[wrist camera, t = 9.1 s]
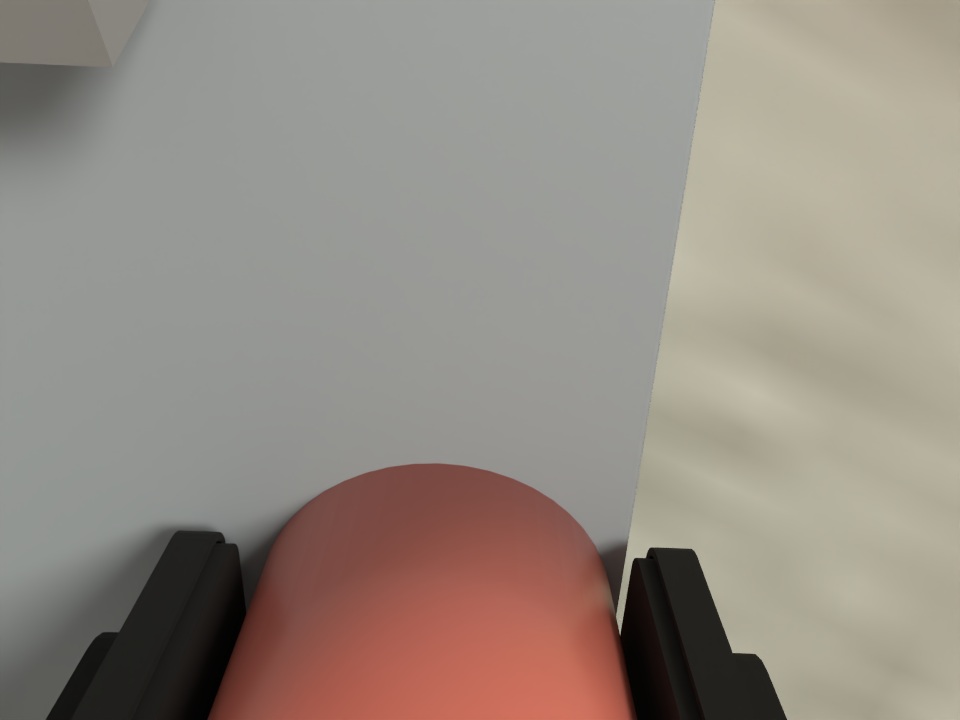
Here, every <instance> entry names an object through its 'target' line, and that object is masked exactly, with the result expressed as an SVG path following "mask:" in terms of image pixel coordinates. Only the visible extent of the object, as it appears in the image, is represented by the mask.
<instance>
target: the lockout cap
mask: <svg viewBox="0 0 960 720" xmlns="http://www.w3.org/2000/svg"><path fill="white" fill-rule="evenodd" d="M207 720H637V716H636V711H635V706H634V702H633V697H632V692H631V687H630V682H629V677H628V673H627V668H626V663H625V658H624V653H623V648H622V644H621V639H620V634H619V629H618V624H617V619H616V614H615V610H614V605H613V600H612V595H611V590H610V585H609V581H608V577H607V573H606V570H605V566H604V563H603V561H602V558H601V556H600V554H599V552H598V550H597V548H596V546H595V544H594V543H593V541H592V540H591V538H590V537H589V535H588V534H587V533H586V531H585V530H584V528H583V527H582V526H581V525H580V524H579V523H578V522H577V521H576V520H575V519H574V518H573V517H572V515H571V514H570V513H568V512H567V511H566V510H565V509H563V508H562V507H561V506H560V505H558V504H557V503H556V502H555V501H554V500H552V499H550V498H549V497H547V496H546V495H544V494H542V493H541V492H539V491H538V490H536V489H534V488H532V487H530V486H528V485H526V484H524V483H521V482H519V481H517V480H515V479H513V478H510V477H507V476H504V475H501V474H498V473H495V472H491V471H488V470H483V469H478V468H473V467H469V466H463V465H452V464H441V463H430V464H409V465H401V466H393V467H387V468H383V469H379V470H375V471H371V472H367V473H364V474H361V475H359V476H356V477H353V478H351V479H348V480H345V481H343V482H341V483H339V484H337V485H335V486H333V487H332V488H330V489H328V490H326V491H324V492H322V493H321V494H320V495H318V496H317V497H315V498H314V499H313V500H311V501H310V502H308V503H307V504H306V505H305V506H304V507H302V508H301V509H300V510H299V511H298V512H297V513H296V514H295V515H294V516H293V517H292V518H291V519H290V520H289V522H288V523H287V524H286V525H285V527H284V528H283V529H282V531H281V532H280V533H279V535H278V537H277V538H276V540H275V542H274V544H273V546H272V548H271V549H270V552H269V554H268V557H267V560H266V563H265V565H264V568H263V571H262V573H261V576H260V579H259V581H258V584H257V587H256V590H255V592H254V595H253V598H252V600H251V603H250V606H249V608H248V611H247V614H246V616H245V619H244V622H243V625H242V627H241V630H240V633H239V635H238V638H237V641H236V643H235V646H234V649H233V652H232V654H231V657H230V660H229V662H228V665H227V668H226V670H225V673H224V676H223V678H222V681H221V684H220V687H219V689H218V692H217V695H216V697H215V700H214V703H213V705H212V708H211V711H210V714H209V716H208V719H207Z"/></svg>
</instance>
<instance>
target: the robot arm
mask: <svg viewBox="0 0 960 720" xmlns="http://www.w3.org/2000/svg"><path fill="white" fill-rule="evenodd" d="M245 616H246V606H245V598H244V589H243V581H242V573H241V565H240V556H239V550H238V546H237V545H236V544H231V543H226V542H225V537H224V535H223V534H222V533H221V532H209V531H181V530H179V531H177V532H175V533H174V535H173V536H172V538H171V539H170V541H169V543H168V545H167V546H166V548H165V550H164V552H163V554H162V556H161V557H160V559H159V561H158V563H157V565H156V566H155V568H154V570H153V572H152V574H151V575H150V577H149V579H148V581H147V583H146V584H145V586H144V588H143V590H142V592H141V593H140V595H139V597H138V599H137V601H136V602H135V604H134V606H133V608H132V610H131V612H130V613H129V615H128V617H127V619H126V621H125V622H124V624H123V626H122V628H121V630H120V631H119V632H102V633H101V634H100V635H98V636H97V637H95V639H94V640H93V641H92V643H91V644H90V645H89V647H88V648H87V650H86V652H85V653H84V655H83V657H82V658H81V660H80V662H79V663H78V665H77V667H76V669H75V670H74V672H73V674H72V675H71V677H70V679H69V680H68V682H67V684H66V686H65V687H64V689H63V691H62V692H61V694H60V696H59V697H58V699H57V701H56V703H55V704H54V706H53V708H52V709H51V711H50V713H49V715H48V716H47V718H46V720H207V719H208V716H209V714H210V711H211V708H212V705H213V703H214V700H215V697H216V695H217V692H218V689H219V687H220V684H221V681H222V678H223V676H224V673H225V670H226V668H227V665H228V662H229V660H230V657H231V654H232V652H233V649H234V646H235V643H236V641H237V638H238V635H239V633H240V630H241V627H242V625H243V622H244V619H245ZM620 639H621V644H622V648H623V653H624V658H625V663H626V668H627V673H628V677H629V682H630V687H631V692H632V697H633V702H634V706H635V711H636V716H637V720H787V719H786V716H785V714H784V711H783V709H782V706H781V704H780V701H779V699H778V697H777V694H776V692H775V689H774V687H773V684H772V682H771V679H770V677H769V674H768V672H767V670H766V668H765V666H764V664H763V662H762V660H761V659H760V658H759V657H758V656H757V655H756V654H743V653H732V650H731V648H730V645H729V642H728V639H727V637H726V634H725V631H724V628H723V626H722V623H721V620H720V618H719V615H718V612H717V609H716V607H715V604H714V601H713V599H712V596H711V593H710V590H709V588H708V585H707V582H706V580H705V577H704V574H703V571H702V569H701V566H700V563H699V560H698V558H697V555H696V553H695V551H693V550H692V549H679V548H649V550H648V552H647V556H646V558H635V559H634V561H633V564H632V569H631V575H630V581H629V587H628V593H627V599H626V605H625V611H624V617H623V623H622V629H621V635H620Z"/></svg>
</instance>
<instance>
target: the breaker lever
mask: <svg viewBox="0 0 960 720" xmlns="http://www.w3.org/2000/svg"><path fill="white" fill-rule="evenodd" d="M149 2H150V0H0V62H3V63H25V64H47V65H69V66H91V67H114V65H115V63H116V61H117V60H118V58H119V56H120V54H121V52H122V51H123V49H124V47H125V45H126V43H127V42H128V40H129V38H130V36H131V34H132V33H133V31H134V29H135V27H136V25H137V23H138V22H139V20H140V18H141V16H142V14H143V13H144V11H145V9H146V7H147V5H148V4H149Z"/></svg>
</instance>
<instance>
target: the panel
mask: <svg viewBox="0 0 960 720" xmlns="http://www.w3.org/2000/svg"><path fill="white" fill-rule="evenodd" d="M714 4H715V0H150V2H149V4H148V5H147V7H146V9H145V11H144V13H143V14H142V16H141V18H140V20H139V22H138V23H137V25H136V27H135V29H134V31H133V33H132V34H131V36H130V38H129V40H128V42H127V43H126V45H125V47H124V49H123V51H122V52H121V54H120V56H119V58H118V60H117V61H116V63H115V65H114V67H91V66H69V65H47V64H25V63H3V62H0V720H46V718H47V716H48V715H49V713H50V711H51V709H52V708H53V706H54V704H55V703H56V701H57V699H58V697H59V696H60V694H61V692H62V691H63V689H64V687H65V686H66V684H67V682H68V680H69V679H70V677H71V675H72V674H73V672H74V670H75V669H76V667H77V665H78V663H79V662H80V660H81V658H82V657H83V655H84V653H85V652H86V650H87V648H88V647H89V645H90V644H91V643H92V641H93V640H94V639H95V637H97V636H98V635H100V634H101V633H102V632H119V631H120V630H121V628H122V626H123V624H124V622H125V621H126V619H127V617H128V615H129V613H130V612H131V610H132V608H133V606H134V604H135V602H136V601H137V599H138V597H139V595H140V593H141V592H142V590H143V588H144V586H145V584H146V583H147V581H148V579H149V577H150V575H151V574H152V572H153V570H154V568H155V566H156V565H157V563H158V561H159V559H160V557H161V556H162V554H163V552H164V550H165V548H166V546H167V545H168V543H169V541H170V539H171V538H172V536H173V535H174V533H175V532H177V531H179V530H181V531H209V532H221V533H222V534H223V535H224V537H225V542H226V543H231V544H236V545H237V546H238V550H239V556H240V565H241V573H242V581H243V589H244V598H245V606H246V614H247V611H248V608H249V606H250V603H251V600H252V598H253V595H254V592H255V590H256V587H257V584H258V581H259V579H260V576H261V573H262V571H263V568H264V565H265V563H266V560H267V557H268V554H269V552H270V549H271V548H272V546H273V544H274V542H275V540H276V538H277V537H278V535H279V533H280V532H281V531H282V529H283V528H284V527H285V525H286V524H287V523H288V522H289V520H290V519H291V518H292V517H293V516H294V515H295V514H296V513H297V512H298V511H299V510H300V509H301V508H302V507H304V506H305V505H306V504H307V503H308V502H310V501H311V500H313V499H314V498H315V497H317V496H318V495H320V494H321V493H322V492H324V491H326V490H328V489H330V488H332V487H333V486H335V485H337V484H339V483H341V482H343V481H345V480H348V479H351V478H353V477H356V476H359V475H361V474H364V473H367V472H371V471H375V470H379V469H383V468H387V467H393V466H401V465H409V464H430V463H441V464H452V465H463V466H469V467H473V468H478V469H483V470H488V471H491V472H495V473H498V474H501V475H504V476H507V477H510V478H513V479H515V480H517V481H519V482H521V483H524V484H526V485H528V486H530V487H532V488H534V489H536V490H538V491H539V492H541V493H542V494H544V495H546V496H547V497H549V498H550V499H552V500H554V501H555V502H556V503H557V504H558V505H560V506H561V507H562V508H563V509H565V510H566V511H567V512H568V513H570V514H571V515H572V517H573V518H574V519H575V520H576V521H577V522H578V523H579V524H580V525H581V526H582V527H583V528H584V530H585V531H586V533H587V534H588V535H589V537H590V538H591V540H592V541H593V543H594V544H595V546H596V548H597V550H598V552H599V554H600V556H601V558H602V561H603V563H604V566H605V570H606V573H607V577H608V581H609V585H610V590H611V595H612V600H613V605H614V610H615V614H616V613H617V607H618V600H619V594H620V588H621V582H622V576H623V569H624V563H625V557H626V551H627V544H628V538H629V532H630V526H631V520H632V513H633V507H634V501H635V495H636V489H637V482H638V476H639V470H640V464H641V457H642V451H643V445H644V439H645V433H646V426H647V420H648V414H649V408H650V402H651V395H652V389H653V383H654V377H655V370H656V364H657V358H658V352H659V346H660V339H661V333H662V327H663V321H664V315H665V308H666V302H667V296H668V290H669V283H670V277H671V271H672V265H673V259H674V252H675V246H676V240H677V234H678V228H679V221H680V215H681V209H682V203H683V196H684V190H685V184H686V178H687V172H688V165H689V159H690V153H691V147H692V141H693V134H694V128H695V122H696V116H697V109H698V103H699V97H700V91H701V85H702V78H703V72H704V66H705V60H706V54H707V47H708V41H709V35H710V29H711V22H712V16H713V10H714Z"/></svg>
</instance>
